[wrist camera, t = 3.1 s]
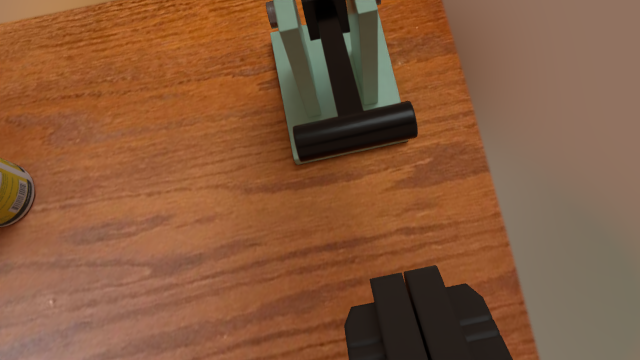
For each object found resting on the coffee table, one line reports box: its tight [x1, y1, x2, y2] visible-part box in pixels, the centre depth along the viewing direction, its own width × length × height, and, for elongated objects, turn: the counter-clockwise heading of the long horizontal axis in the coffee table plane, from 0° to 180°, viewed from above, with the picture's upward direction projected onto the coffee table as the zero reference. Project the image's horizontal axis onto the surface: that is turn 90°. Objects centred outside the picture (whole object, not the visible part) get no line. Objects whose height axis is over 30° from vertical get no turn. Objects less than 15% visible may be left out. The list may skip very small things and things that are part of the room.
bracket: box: [266, 0, 408, 165], centre depth 34 cm, size 10×8×13 cm
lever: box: [293, 0, 418, 162], centre depth 27 cm, size 12×5×2 cm, turn 11°
